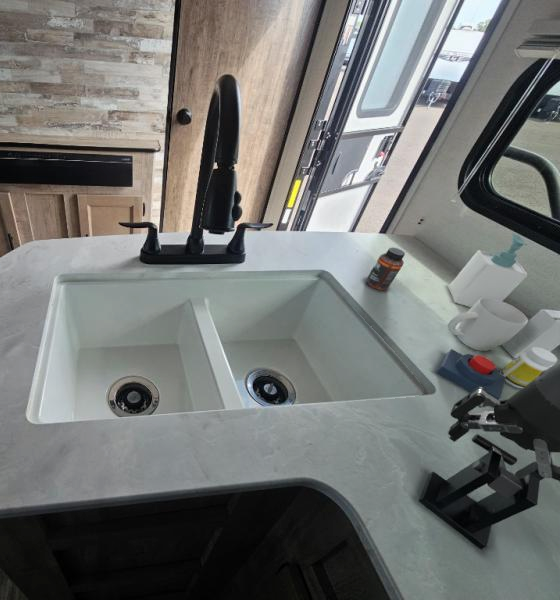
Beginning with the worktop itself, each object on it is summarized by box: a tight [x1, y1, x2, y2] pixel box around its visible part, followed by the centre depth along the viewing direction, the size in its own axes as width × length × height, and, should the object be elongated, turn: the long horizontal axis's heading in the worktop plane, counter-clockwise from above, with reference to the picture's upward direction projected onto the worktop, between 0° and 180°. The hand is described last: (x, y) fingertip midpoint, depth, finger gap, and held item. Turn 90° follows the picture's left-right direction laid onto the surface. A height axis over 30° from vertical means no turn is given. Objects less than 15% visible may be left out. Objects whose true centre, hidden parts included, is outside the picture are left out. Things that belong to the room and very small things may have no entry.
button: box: [469, 354, 496, 374], centre depth 67 cm, size 4×4×2 cm
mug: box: [447, 298, 529, 352], centre depth 76 cm, size 13×9×10 cm
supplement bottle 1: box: [365, 247, 406, 291], centre depth 91 cm, size 6×6×11 cm
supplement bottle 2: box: [499, 347, 559, 389], centre depth 68 cm, size 5×5×8 cm
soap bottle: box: [448, 232, 529, 308], centre depth 87 cm, size 9×9×19 cm
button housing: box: [435, 348, 506, 401], centre depth 69 cm, size 8×10×4 cm
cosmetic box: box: [501, 308, 560, 359], centre depth 74 cm, size 6×4×12 cm
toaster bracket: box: [418, 450, 541, 550], centre depth 45 cm, size 6×8×12 cm
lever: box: [471, 433, 522, 499], centre depth 46 cm, size 12×5×2 cm, turn 134°
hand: (483, 457), depth 52 cm, fingers open, 8 cm apart
